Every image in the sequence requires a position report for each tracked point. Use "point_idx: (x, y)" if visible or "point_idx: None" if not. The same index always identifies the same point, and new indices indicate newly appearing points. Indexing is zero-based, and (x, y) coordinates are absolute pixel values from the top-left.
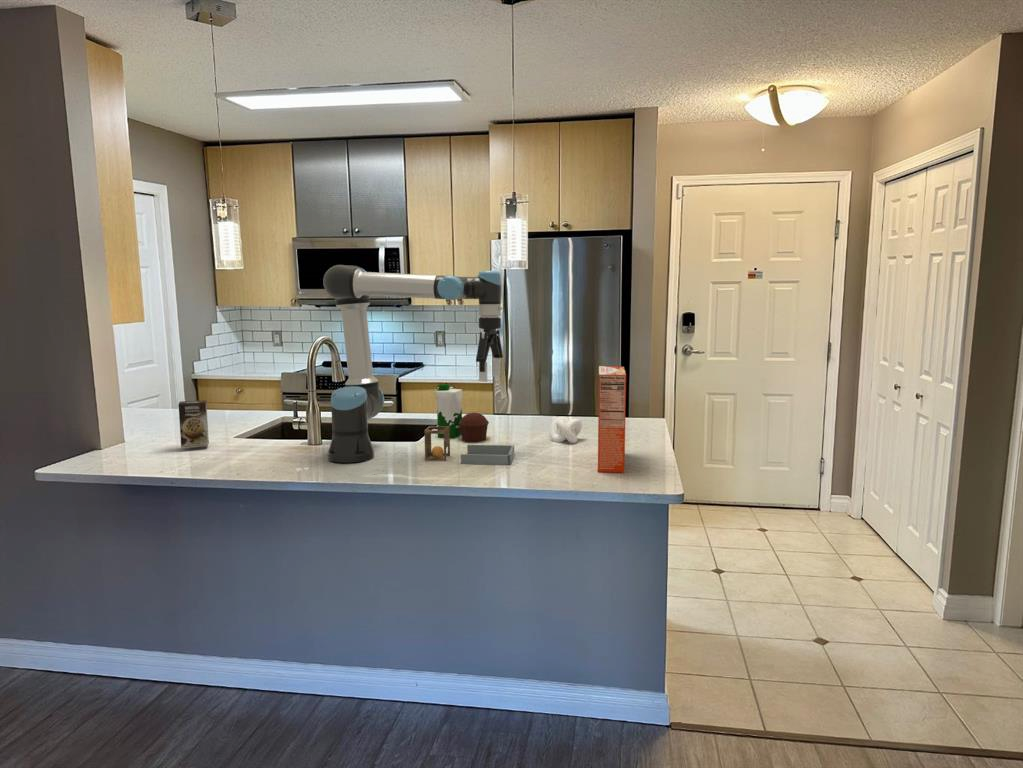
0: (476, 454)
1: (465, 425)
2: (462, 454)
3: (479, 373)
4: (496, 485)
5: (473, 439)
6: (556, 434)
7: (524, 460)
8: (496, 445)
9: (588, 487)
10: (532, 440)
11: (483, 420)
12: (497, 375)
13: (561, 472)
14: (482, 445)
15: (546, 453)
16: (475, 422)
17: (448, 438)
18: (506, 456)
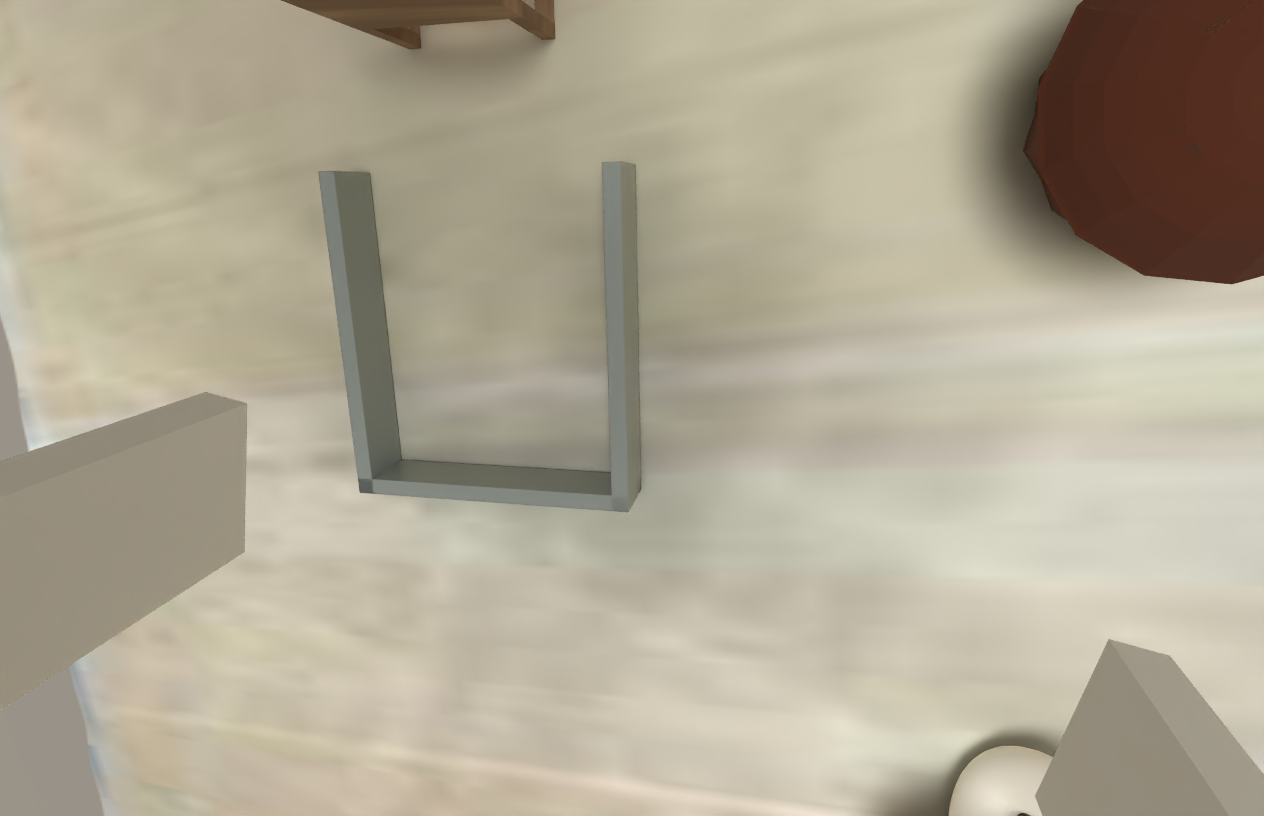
0: (346, 280)
1: (1063, 35)
2: (327, 183)
3: (48, 459)
4: (51, 423)
5: (1031, 138)
6: (1013, 806)
7: (495, 547)
8: (612, 390)
9: (136, 770)
10: (1084, 612)
11: (1154, 236)
12: (1062, 775)
13: (308, 704)
14: (606, 285)
15: (673, 673)
16: (1068, 153)
17: (443, 8)
18: (360, 468)
